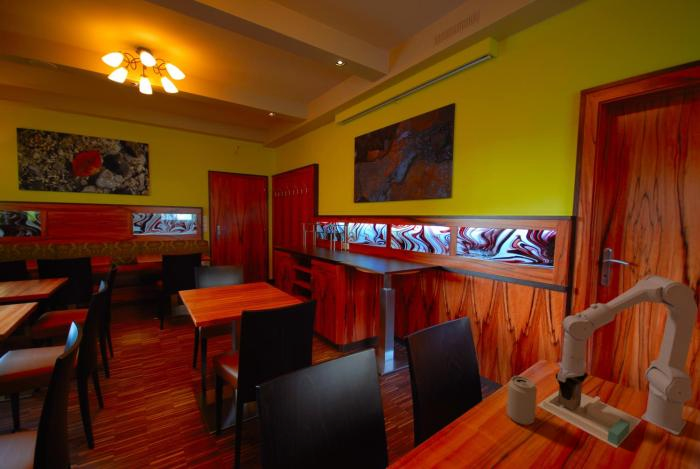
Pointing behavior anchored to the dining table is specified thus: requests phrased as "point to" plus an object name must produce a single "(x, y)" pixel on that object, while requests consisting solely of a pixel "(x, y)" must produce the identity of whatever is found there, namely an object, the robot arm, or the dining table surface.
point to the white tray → (594, 418)
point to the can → (521, 400)
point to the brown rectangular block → (575, 398)
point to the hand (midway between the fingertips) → (569, 395)
